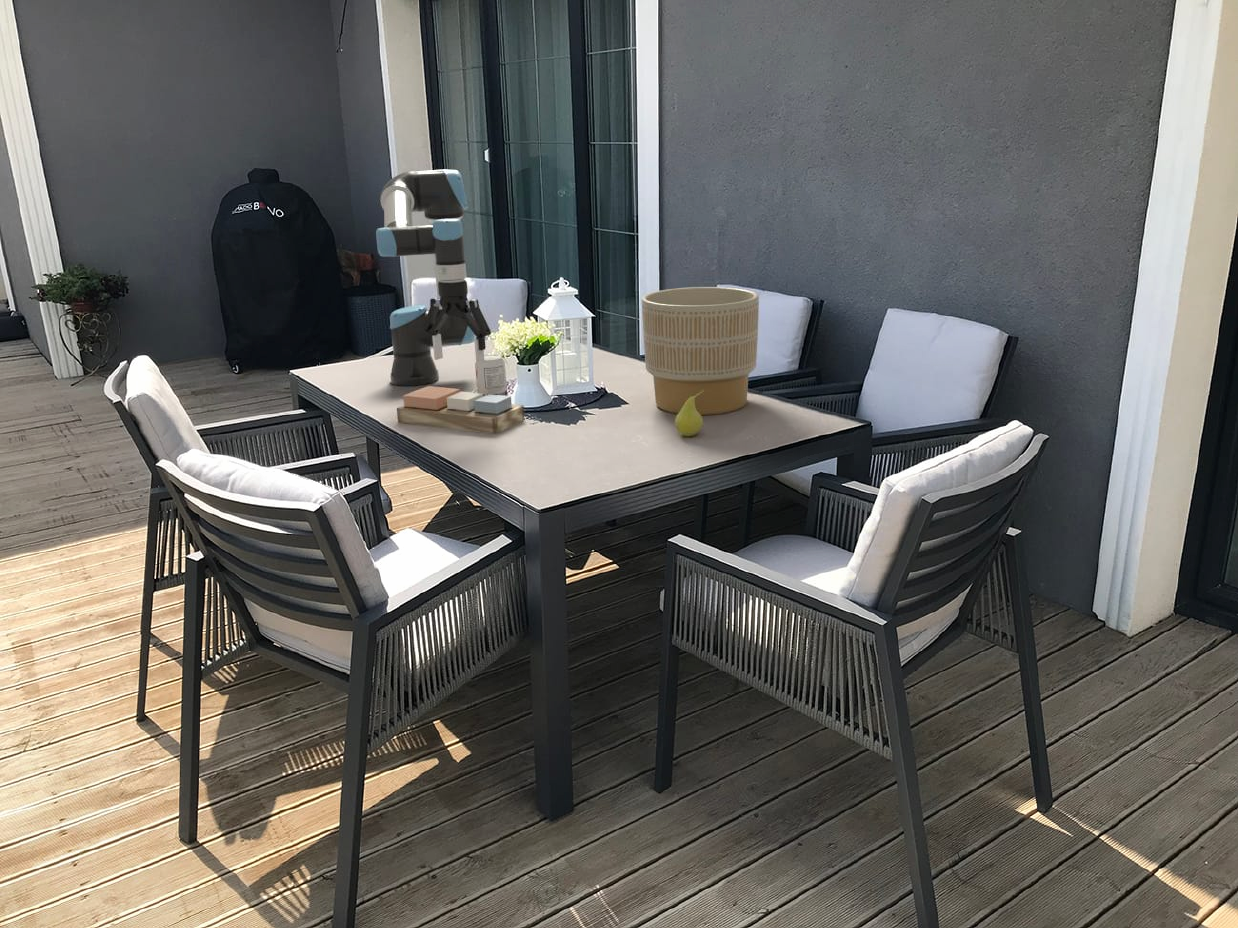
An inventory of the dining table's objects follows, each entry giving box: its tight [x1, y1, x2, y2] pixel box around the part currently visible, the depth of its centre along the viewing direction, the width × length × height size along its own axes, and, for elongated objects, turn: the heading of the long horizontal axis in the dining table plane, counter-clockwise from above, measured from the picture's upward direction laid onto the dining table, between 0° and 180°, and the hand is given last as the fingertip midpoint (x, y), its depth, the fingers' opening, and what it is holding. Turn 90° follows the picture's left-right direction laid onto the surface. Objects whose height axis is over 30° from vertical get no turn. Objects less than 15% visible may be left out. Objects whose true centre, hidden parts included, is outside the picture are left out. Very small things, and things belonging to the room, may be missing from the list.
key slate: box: [474, 394, 513, 416], centre depth 265 cm, size 7×7×4 cm
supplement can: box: [474, 354, 508, 397], centre depth 279 cm, size 8×8×15 cm
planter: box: [641, 286, 760, 416], centre depth 275 cm, size 32×32×30 cm
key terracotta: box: [402, 385, 461, 412], centre depth 274 cm, size 11×11×4 cm
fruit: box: [674, 389, 705, 437], centre depth 249 cm, size 7×8×12 cm
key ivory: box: [447, 391, 483, 413], centre depth 269 cm, size 7×7×4 cm
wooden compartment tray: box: [396, 403, 525, 435], centre depth 271 cm, size 14×32×4 cm, turn 63°
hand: (459, 360), depth 265 cm, fingers open, 13 cm apart
